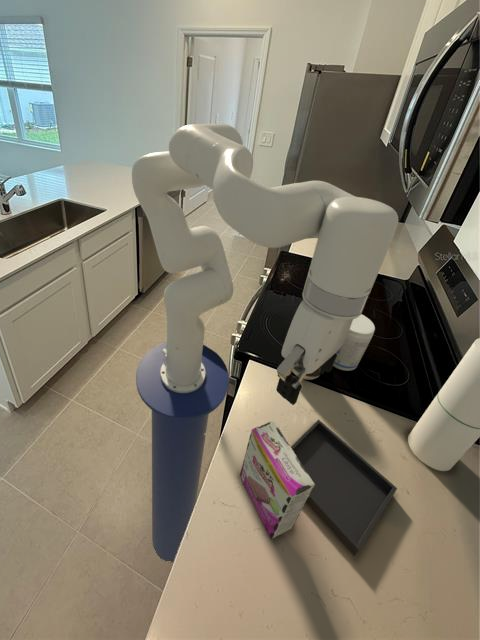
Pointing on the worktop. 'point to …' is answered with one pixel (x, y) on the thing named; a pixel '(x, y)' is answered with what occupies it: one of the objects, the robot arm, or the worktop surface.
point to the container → (451, 416)
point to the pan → (342, 486)
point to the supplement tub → (355, 344)
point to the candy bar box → (274, 479)
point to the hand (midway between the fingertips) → (304, 380)
